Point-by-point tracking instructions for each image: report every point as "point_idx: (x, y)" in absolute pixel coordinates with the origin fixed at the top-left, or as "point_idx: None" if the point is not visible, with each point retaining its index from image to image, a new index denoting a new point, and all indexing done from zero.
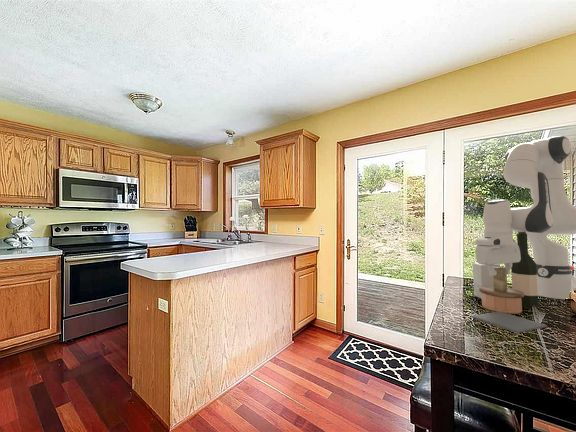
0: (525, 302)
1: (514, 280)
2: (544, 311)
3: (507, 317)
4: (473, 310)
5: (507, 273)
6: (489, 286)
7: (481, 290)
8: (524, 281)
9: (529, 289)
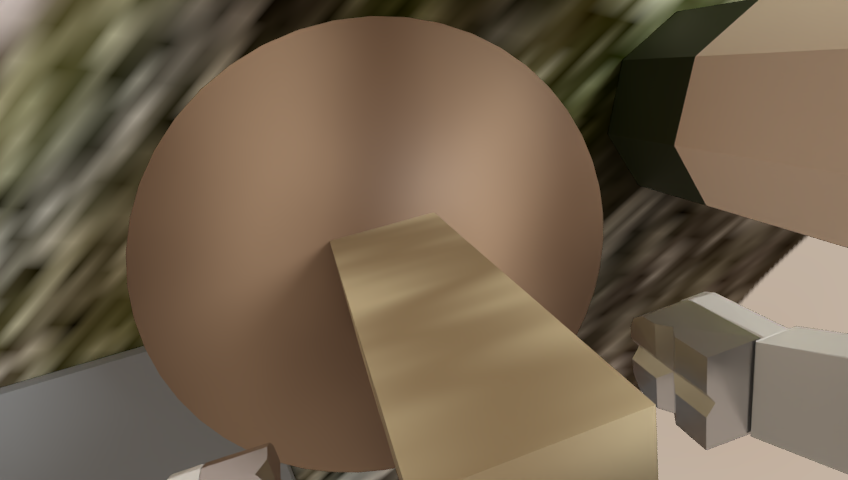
0: (642, 167)
1: (834, 97)
2: (605, 299)
3: (173, 464)
4: (10, 245)
5: (649, 394)
6: (450, 32)
7: (130, 226)
8: (837, 216)
9: (763, 219)
